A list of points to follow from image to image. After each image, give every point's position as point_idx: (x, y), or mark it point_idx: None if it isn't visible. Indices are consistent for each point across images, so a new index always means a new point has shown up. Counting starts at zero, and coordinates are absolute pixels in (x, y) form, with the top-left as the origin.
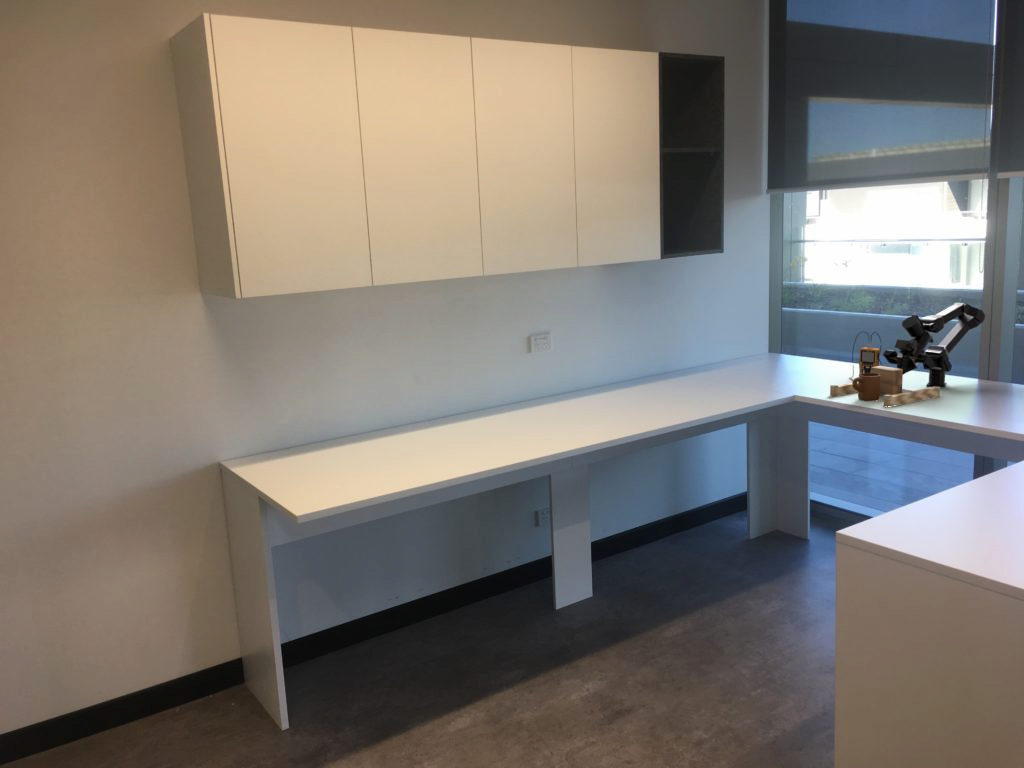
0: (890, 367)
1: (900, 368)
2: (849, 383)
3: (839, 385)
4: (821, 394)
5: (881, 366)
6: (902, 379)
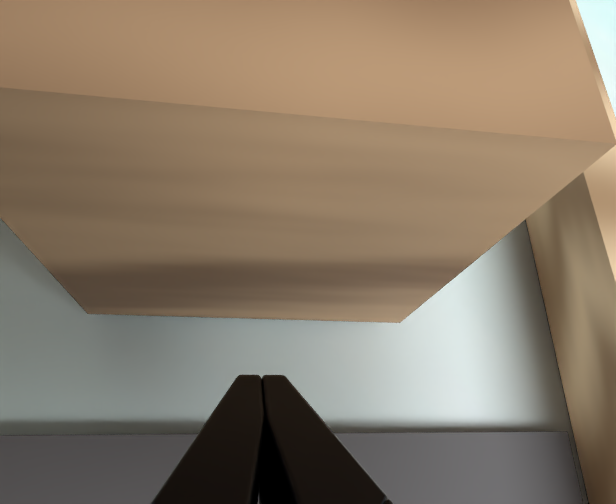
0: (293, 95)
1: (239, 491)
2: (612, 115)
3: (572, 7)
4: (580, 9)
5: (519, 85)
6: (6, 224)
